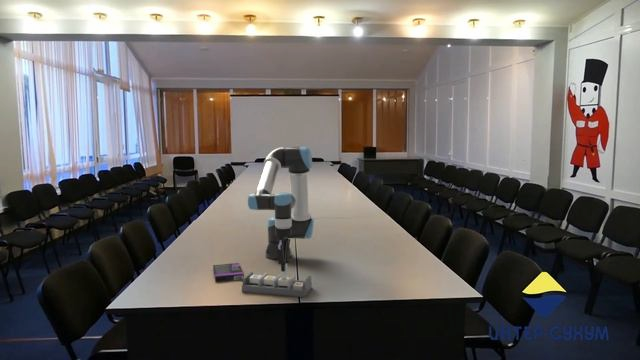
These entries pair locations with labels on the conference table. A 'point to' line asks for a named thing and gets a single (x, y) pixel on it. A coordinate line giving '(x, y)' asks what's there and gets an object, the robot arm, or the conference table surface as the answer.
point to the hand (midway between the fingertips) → (284, 277)
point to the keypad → (276, 286)
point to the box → (228, 272)
